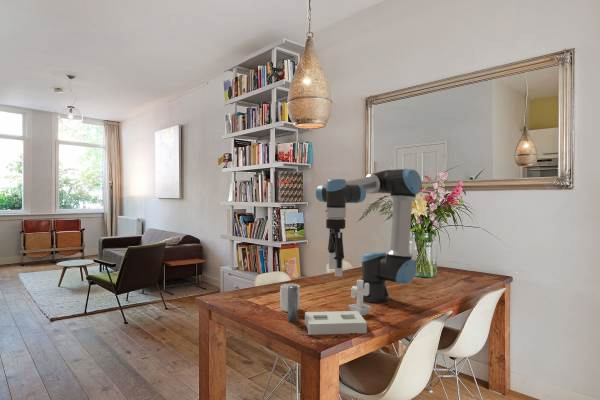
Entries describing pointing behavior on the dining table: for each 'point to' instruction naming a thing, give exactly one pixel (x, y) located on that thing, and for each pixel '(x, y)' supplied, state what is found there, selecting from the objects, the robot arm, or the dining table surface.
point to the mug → (285, 296)
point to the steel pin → (292, 303)
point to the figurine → (360, 298)
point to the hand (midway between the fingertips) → (335, 272)
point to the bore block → (335, 322)
